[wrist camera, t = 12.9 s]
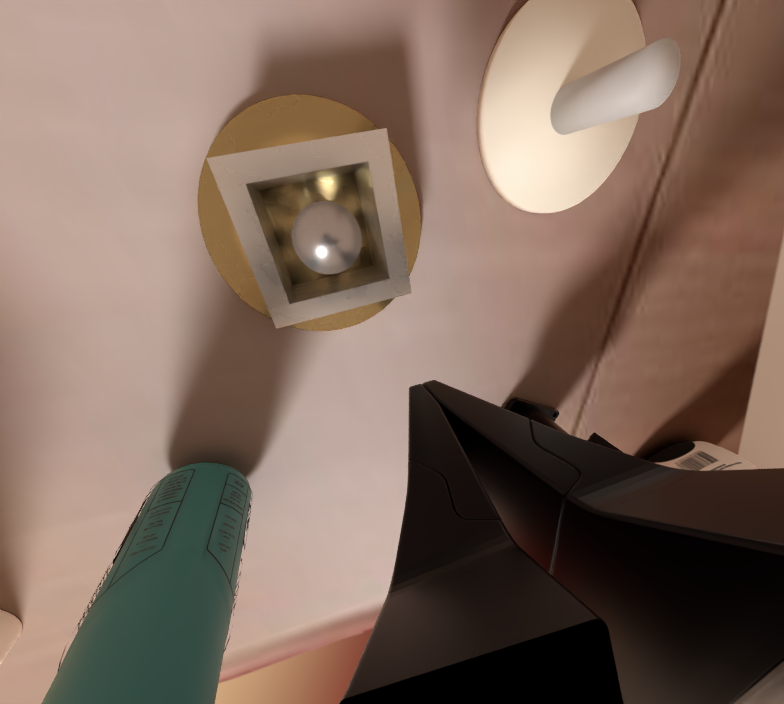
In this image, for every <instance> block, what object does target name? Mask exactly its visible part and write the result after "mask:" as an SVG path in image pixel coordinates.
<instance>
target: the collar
mask: <svg viewBox="0 0 784 704" xmlns="http://www.w3.org/2000/svg"><path fill="white" fill-rule="evenodd" d="M206 159H207V161H208V163H209V166H210V168H211V171H212V173H213V176H214V178H215V181H216V183H217V185H218V188H219V190H220V193H221V195H222V198H223V200H224V203H225V205H226V207H227V210H228V212H229V215H230V217H231V220H232V222H233V225H234V227H235V229H236V232H237V234H238V237H239V239H240V242H241V244H242V247H243V249H244V252H245V254H246V256H247V259H248V261H249V264H250V266H251V269H252V271H253V274H254V276H255V278H256V281H257V283H258V286H259V288H260V291H261V293H262V296H263V298H264V300H265V303H266V305H267V308H268V310H269V313H270V315H271V318H272V320H273V322H274V325H275V327H276V329H277V328H281V327H285V326H289V325H293V324H296V323H300V322H304V321H308V320H311V319H315V318H319V317H323V316H327V315H330V314H334V313H338V312H342V311H346V310H349V309H353V308H357V307H361V306H364V305H368V304H372V303H376V302H380V301H383V300H387V299H391V298H395V297H398V296H402V295H406V294H410V293H411V286H410V280H409V273H408V266H407V260H406V253H405V247H404V240H403V233H402V227H401V220H400V213H399V207H398V200H397V193H396V187H395V180H394V173H393V167H392V160H391V154H390V147H389V140H388V134H387V128H383V129H377V130H371V131H365V132H359V133H353V134H347V135H341V136H335V137H329V138H323V139H317V140H311V141H305V142H299V143H293V144H287V145H282V146H276V147H270V148H264V149H258V150H252V151H246V152H240V153H234V154H228V155H222V156H216V157H210V158H206ZM353 172H354V176H355V180H356V185H357V190H358V195H359V200H360V205H361V209H362V214H363V219H364V224H365V229H366V234H367V238H368V243H369V248H370V253H371V258H372V263H373V266H370V267H366V268H362V269H358V270H354V271H349V272H345V273H341V274H337V275H333V276H329V277H325V278H321V279H317V280H312V281H308V282H304V283H300V284H296V285H292V283H291V280H290V277H289V274H288V271H287V268H286V265H285V263H284V260H283V257H282V254H281V251H280V248H279V245H278V243H277V240H276V237H275V234H274V231H273V228H272V226H271V223H270V220H269V217H268V214H267V211H266V208H265V206H264V203H263V200H262V197H261V194H260V191H259V190H263V189H269V188H274V187H279V186H285V185H290V184H295V183H300V182H306V181H311V180H316V179H322V178H327V177H332V176H337V175H343V174H348V173H353Z"/></svg>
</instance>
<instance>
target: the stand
mask: <svg viewBox="0 0 784 704" xmlns="http://www.w3.org/2000/svg"><path fill="white" fill-rule="evenodd" d="M680 67H681V52H680V48H679V46H678V44H677V42H676V41H675V40H673V39H671V38H663V39H660V40H658V41H656V42H654V43H652V44H650V45H648V46H646V44H645V38H644V32H643V28H642V24H641V21H640V17H639V15H638V13H637V10H636V8H635V6H634V4H633V2H632V1H631V0H529V1H528V2H527V3H526V4H525V5H523V6H522V7H521V8H520V9H519V10H518V11H517V13H516V14H515V15H514V16H513V18H512V19H511V20H510V22H509V23H508V24H507V26H506V27H505V29H504V31H503V32H502V34H501V35H500V37H499V39H498V41H497V43H496V45H495V47H494V49H493V51H492V53H491V56H490V59H489V61H488V64H487V67H486V69H485V73H484V77H483V81H482V84H481V89H480V95H479V101H478V112H477V135H478V144H479V150H480V155H481V159H482V163H483V166H484V169H485V172H486V174H487V176H488V178H489V180H490V182H491V184H492V185H493V187H494V188H495V190H496V191H497V193H498V194H499V195H500V196H501V197H502V198H503V199H504V200H505V201H506V202H508V203H509V204H510V205H512V206H514V207H516V208H517V209H520V210H523V211H526V212H532V213H554V212H558V211H563V210H565V209H568V208H570V207H572V206H574V205H576V204H578V203H580V202H581V201H583V200H584V199H586V198H587V197H588V196H590V195H591V194H592V193H593V192H594V191H595V190H596V189H598V187H599V186H600V185H601V184H602V183H603V182H604V181H605V180H606V179H607V177H608V176H609V175H610V173H611V172H612V171H613V170H614V168H615V166H616V165H617V163H618V162H619V160H620V159H621V157H622V155H623V153H624V151H625V149H626V148H627V145H628V143H629V141H630V139H631V137H632V134H633V132H634V129H635V126H636V123H637V120H638V117H639V113H642V112H645V111H649V110H652V109H655V108H657V107H658V106H660V105H661V104H662V103H663V102H664V101H665V100H666V99H667V98H668V97H669V95H670V94H671V92H672V90H673V88H674V86H675V84H676V82H677V79H678V76H679V72H680Z"/></svg>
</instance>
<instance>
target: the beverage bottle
mask: <svg viewBox="0 0 784 704" xmlns="http://www.w3.org/2000/svg"><path fill="white" fill-rule="evenodd" d="M156 484H157V483H156ZM156 484H155V485H156ZM155 485H154V486H155ZM151 489H152V488H151ZM151 489H150V490H151ZM152 490H153V491H150V492H149V493H151V494H150V496H149V497H148V498H147V499H148V500H147V499H144V500H145V501H144V502H143V504H142V506H141V508H140V510H139V512H138V514H137V516H136V517H135V519H134V521H133V523H132V524H131V525H130V526H131V527H129V528H130V529H129V531H128V532H127V534H126V536H125V538H124V540H123V542H122V544H121V545H122V546H121V545H120V546H121V548H120V547H119V548H120V550H119V551H118V550H117V551H118V553H117V555H116V557H115V559H113V566H112V568H111V570H110V572H109V574H108V572H107V571H108V570H109V569H108V570H107V571H106V573H107V577H106V579H105V580H103V579H104V576H103V579H102V580H103V581H104V582H103V585H102V587H99V586H98V587H99V588H101V589H99V590H100V591H99V593H98V595H97V594H96V595H97V597H96V598H95V600H94V602H93V604H92V606H91V607H90V608H89V605H88V607H86V608H88V609H90V610H89V611H88V610H87V612H88V614H87V616H86V617H84V616H85V615H84V614H86V613H87V612H86V613H85V612H84V614H83V617H84V618H85V619H83V620H84V621H83V623H82V625H81V627H80V629H79V627H78V629H79V631H78V633H77V634H76V636H75V638H74V640H73V642H72V644H71V646H70V648H69V650H68V652H67V654H66V656H65V658H64V660H63V662H62V665H61V667H60V664H59V668H60V669H59V668H58V673H57V675H56V677H55V679H54V681H53V683H52V685H51V687H50V688H49V690H48V692H47V694H46V696H45V698H44V700H43V702H42V704H215V698H216V692H217V687H218V681H219V676H220V670H221V665H222V659H223V653H224V651H225V650H224V648H225V642H226V638H227V634H228V629H229V624H230V618H231V614H232V606H233V601H235V599H234V596H236V597H237V595H236V593H235V589H236V587H237V586H236V582H237V576H238V570H239V565H240V559H241V553H242V547H243V545H244V537H245V529H246V524H247V528H248V526H249V525H248V523H249V520H250V518H249V519H248V521H247V517H248V511H249V510H250V509H249V508H251V505H250V499H252V498H251V492H252V491H251V489H250V486H249V483H248V481H247V479H246V478H245V476H244V475H243V474H241V473H240V472H239V471H237V470H236V469H234V468H232V467H229V466H226V465H223V464H217V463H195V464H190V465H186V466H183V467H181V468H178V469H176V470H174V471H172V472H171V473H169V474H168V475H166V476H165V477H164V478H163V479H162V480H160V481H159V483H158V484H157V485H156V486H155V488H154V489H152ZM148 495H149V494H148ZM148 495H147V496H148ZM147 496H146V497H147ZM252 496H253V495H252ZM146 500H147V502H146ZM145 502H146V504H145ZM251 502H252V501H251ZM144 504H145V506H144V507H143V505H144ZM142 507H143V509H142ZM141 510H142V511H141ZM140 511H141V513H140ZM139 513H140V515H139ZM250 513H251V512H249V514H250ZM138 515H139V517H138ZM247 522H248V523H247ZM246 531H247V529H246ZM247 532H248V531H247ZM246 538H247V537H246ZM245 545H246V543H245ZM119 548H118V549H119ZM244 551H245V546H244ZM115 554H116V553H115ZM241 562H242V560H241ZM108 568H109V567H108ZM104 575H105V574H104ZM239 575H240V574H239ZM238 577H239V576H238ZM102 580H101V581H102ZM239 580H240V579H239ZM238 583H239V582H238ZM238 583H237V585H238ZM99 585H100V586H101V582H100V584H99ZM238 586H239V585H238ZM98 587H97V588H98ZM238 588H239V587H238ZM97 590H98V589H97ZM97 590H96V592H97ZM237 591H238V589H237ZM237 591H236V592H237ZM94 594H95V592H94ZM234 594H235V595H234ZM237 594H238V593H237ZM93 596H94V595H93ZM93 596H92V597H93ZM236 597H235V598H236ZM92 601H93V600H92ZM90 602H91V601H90ZM90 602H89V603H90ZM235 605H236V604H235ZM234 607H235V606H234ZM234 607H233V608H234ZM85 610H86V609H85ZM81 620H82V619H80V621H81ZM78 624H79V625H80V622H79V623H78ZM232 626H233V625H232ZM75 629H76V628H75ZM72 634H73V633H72ZM229 638H230V637H229ZM228 641H229V640H228ZM227 644H228V642H227ZM226 646H227V645H226ZM65 648H66V647H65ZM225 649H226V648H225ZM64 650H65V649H64ZM63 653H64V652H63ZM62 656H63V655H62ZM61 659H62V658H61ZM60 663H61V661H60Z"/></svg>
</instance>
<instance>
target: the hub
mask: <svg viewBox="0 0 784 704" xmlns="http://www.w3.org/2000/svg"><path fill="white" fill-rule="evenodd" d="M377 129H379V128H378V127H377V126H376V125H375V124H374V123H372V122H371V121H370V120H368V119H367V118H365V117H364V116H363V115H361V114H360V113H358V112H357V111H355V110H353V109H351V108H349V107H348V106H346V105H344V104H341V103H338V102H336V101H333V100H330V99H327V98H322V97H318V96H313V95H298V94H293V95H284V96H277V97H273V98H270V99H267V100H263V101H260V102H258V103H256V104H254V105H252V106H250V107H248V108H246V109H245V110H244V111H242V112H241V113H240V114H238V115H237V116H236V117H234V118H233V119H232V120H231V121H230V122H229V123H228V124H227V125H226V126H225V127H224V128H223V129H222V130H221V131H220V133H219V135H218V136H217V138H216V139H215V141H214V142H213V144H212V145H211V147H210V149H209V152H208V154H207V156H206V158H210V157H216V156H222V155H228V154H234V153H240V152H246V151H252V150H258V149H264V148H270V147H276V146H282V145H287V144H293V143H299V142H305V141H311V140H317V139H323V138H329V137H335V136H341V135H347V134H353V133H359V132H365V131H371V130H377ZM388 140H389V139H388ZM389 147H390V154H391V160H392V167H393V173H394V180H395V187H396V193H397V200H398V207H399V213H400V220H401V227H402V233H403V240H404V247H405V253H406V260H407V266H408V273H409V275H410V273H411V271H412V269H413V266H414V263H415V261H416V257H417V253H418V249H419V243H420V235H421V216H420V206H419V201H418V197H417V192H416V188H415V186H414V183H413V180H412V177H411V174H410V172H409V170H408V168H407V166H406V164H405V162H404V160H403V158H402V157H401V155H400V154H399V152H398V151H397V149H396V147H395V146H394V145H393V144H392V142H391V141H390V140H389ZM206 158H205V161H204V164H203V168H202V171H201V175H200V180H199V189H198V214H199V220H200V226H201V231H202V234H203V237H204V241H205V244H206V247H207V249H208V251H209V254H210V256H211V258H212V260H213V262H214V264H215V266H216V267H217V269H218V271H219V272H220V274H221V275H222V277H223V278H224V279H225V281H226V282H227V283H228V285H229V286H230V287H231V288H232V289H233V290H234V291H235V292H236V293H237V294H238V295H239V296H240V297H241V299H243V300H244V301H245V302H246V303H248V304H249V305H250V306H251V307H252V308H254V309H255V310H257V311H259V312H260V313H262V314H263V315H265V316H267V317H269V318H271V315H270V313H269V310H268V308H267V305H266V303H265V300H264V298H263V296H262V293H261V291H260V288H259V286H258V283H257V281H256V278H255V276H254V274H253V271H252V269H251V266H250V264H249V261H248V259H247V256H246V254H245V252H244V249H243V247H242V244H241V242H240V239H239V237H238V234H237V232H236V229H235V227H234V225H233V222H232V220H231V217H230V215H229V212H228V210H227V207H226V205H225V203H224V200H223V198H222V195H221V193H220V190H219V188H218V185H217V183H216V181H215V178H214V176H213V173H212V171H211V168H210V166H209V163H208V161H207V159H206ZM259 191H260V194H261V197H262V200H263V203H264V206H265V208H266V211H267V214H268V217H269V220H270V223H271V226H272V228H273V231H274V234H275V237H276V240H277V243H278V245H279V248H280V251H281V254H282V257H283V260H284V263H285V265H286V268H287V271H288V274H289V277H290V280H291V283H292V285H296V284H300V283H304V282H308V281H312V280H317V279H321V278H325V277H329V276H333V275H337V274H341V273H345V272H349V271H354V270H358V269H362V268H366V267H370V266H373V263H372V258H371V253H370V248H369V243H368V238H367V234H366V229H365V224H364V219H363V214H362V209H361V205H360V200H359V195H358V190H357V185H356V180H355V176H354V172H353V173H348V174H343V175H337V176H332V177H327V178H322V179H316V180H311V181H306V182H300V183H295V184H290V185H285V186H279V187H274V188H269V189H263V190H259ZM393 299H394V298H391V299H387V300H383V301H380V302H376V303H372V304H368V305H364V306H361V307H357V308H353V309H349V310H346V311H342V312H338V313H334V314H330V315H327V316H323V317H319V318H315V319H311V320H308V321H304V322H300V323H296V324H293V325H289V326H290V327H295V328H299V329H304V330H313V331H330V330H337V329H343V328H347V327H350V326H353V325H356V324H359V323H361V322H363V321H365V320H367V319H369V318H371V317H373V316H374V315H376V314H377V313H378V312H380V311H381V310H383V309H384V308H385V307H386V306H387V305H388V304H389V303H390V302H391V301H392V300H393ZM271 319H272V318H271Z"/></svg>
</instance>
